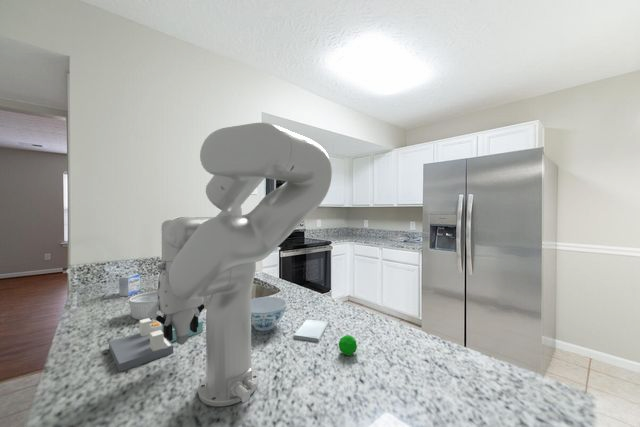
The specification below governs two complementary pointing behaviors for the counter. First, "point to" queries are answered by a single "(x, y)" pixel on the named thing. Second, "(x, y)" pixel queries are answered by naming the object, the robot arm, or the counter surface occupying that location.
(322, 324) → the hard drive
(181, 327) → the lightbulb
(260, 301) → the chinaware
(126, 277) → the medicine box
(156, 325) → the block
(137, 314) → the ramekin
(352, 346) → the polyhedron
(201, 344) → the counter surface
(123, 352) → the breaker panel
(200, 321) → the socket
